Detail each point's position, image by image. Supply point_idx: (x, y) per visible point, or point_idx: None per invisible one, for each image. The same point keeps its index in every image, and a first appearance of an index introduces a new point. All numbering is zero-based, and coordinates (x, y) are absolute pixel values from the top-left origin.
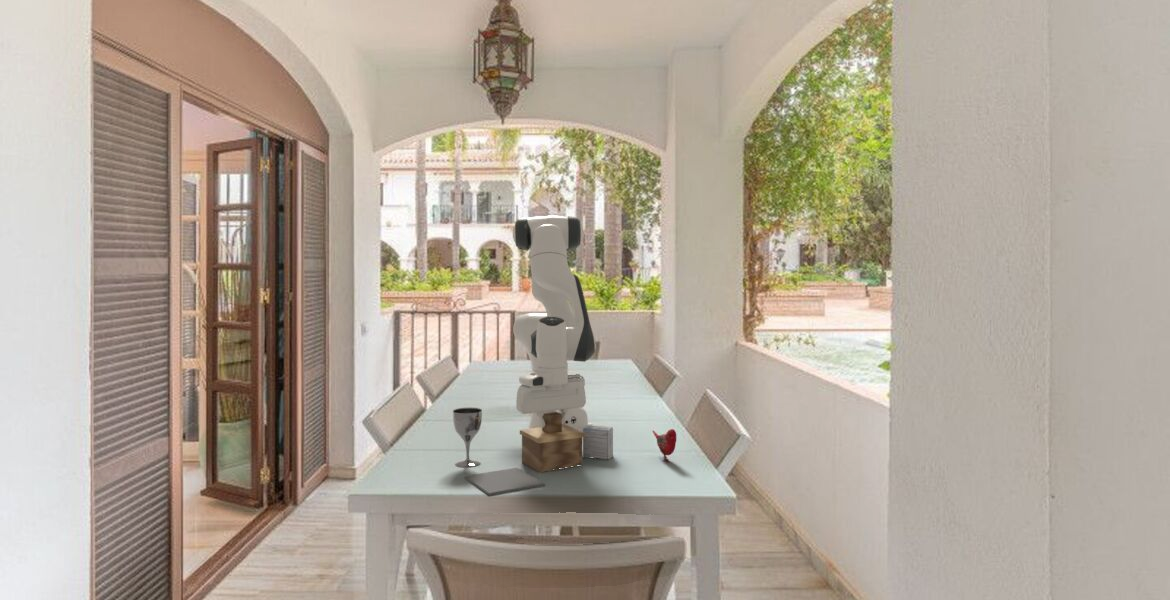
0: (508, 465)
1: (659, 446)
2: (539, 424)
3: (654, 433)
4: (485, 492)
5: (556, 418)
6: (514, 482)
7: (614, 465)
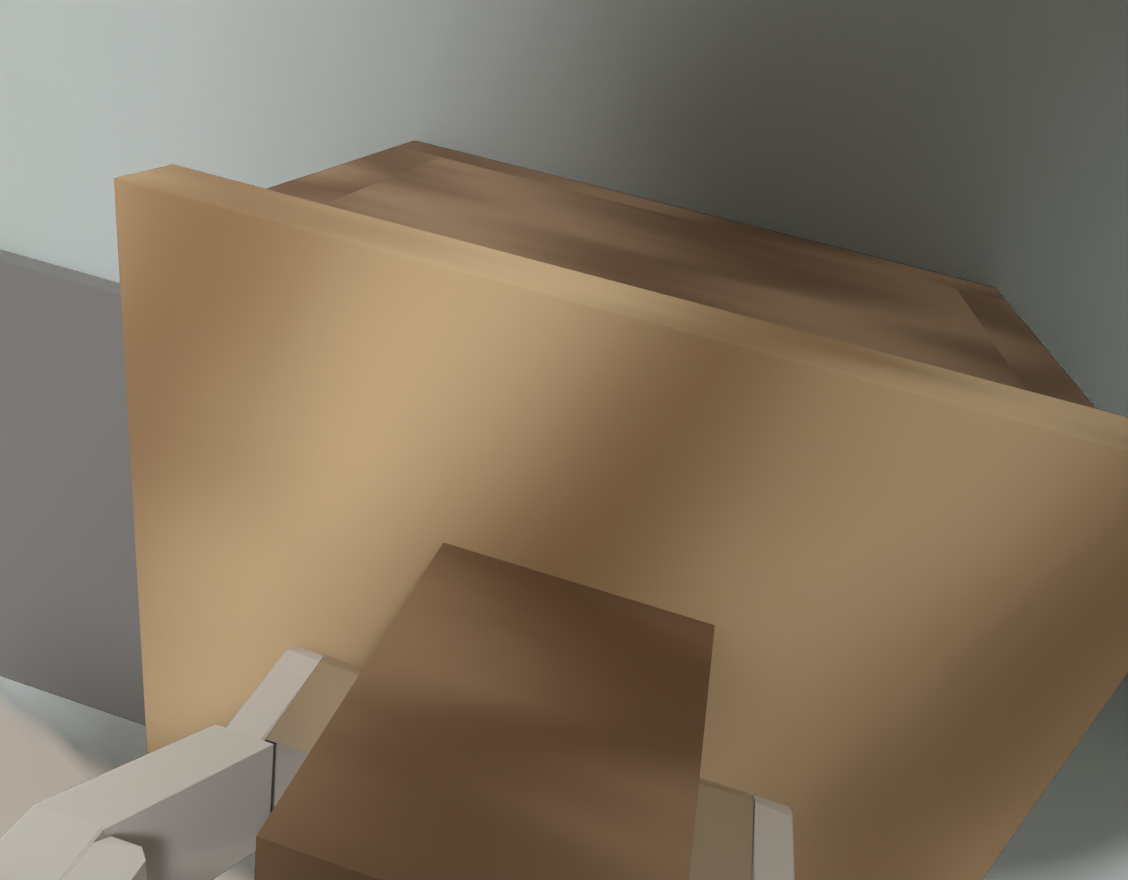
0: (240, 114)
1: None
2: (272, 671)
3: None
4: None
5: None
6: (58, 602)
7: (1046, 856)
